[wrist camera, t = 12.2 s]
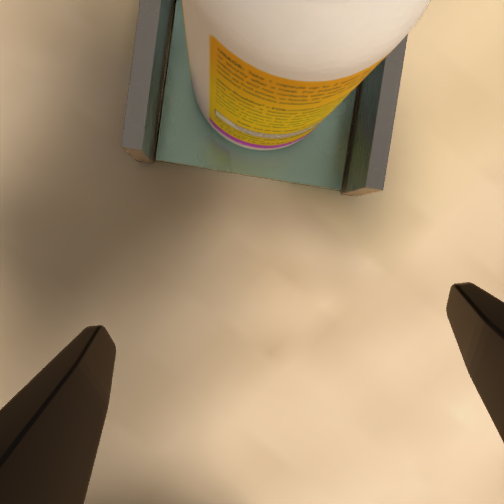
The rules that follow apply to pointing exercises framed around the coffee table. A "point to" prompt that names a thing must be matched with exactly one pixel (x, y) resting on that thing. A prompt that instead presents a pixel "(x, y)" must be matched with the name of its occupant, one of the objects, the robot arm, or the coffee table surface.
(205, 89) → the supplement bottle
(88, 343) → the robot arm
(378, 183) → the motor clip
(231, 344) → the coffee table surface
